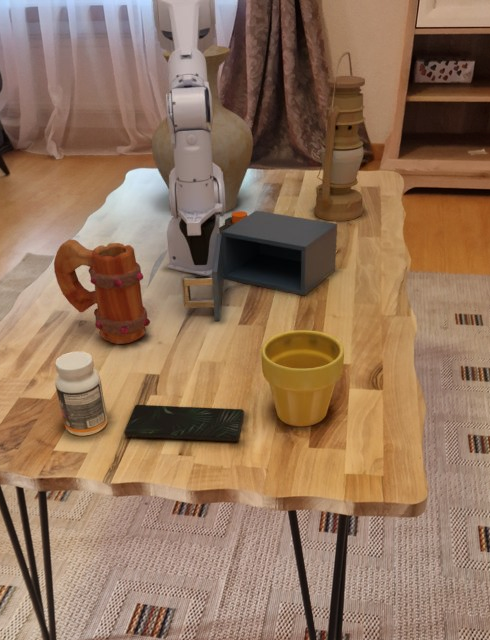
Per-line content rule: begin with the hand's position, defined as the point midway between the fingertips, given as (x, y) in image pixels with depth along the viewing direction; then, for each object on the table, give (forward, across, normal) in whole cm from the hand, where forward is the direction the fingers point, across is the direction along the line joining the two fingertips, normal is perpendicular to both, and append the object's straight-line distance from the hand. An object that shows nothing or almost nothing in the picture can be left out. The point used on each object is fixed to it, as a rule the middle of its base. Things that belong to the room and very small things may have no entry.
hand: (200, 263), depth 119 cm
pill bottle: (+8, -36, +14) cm, 39 cm away
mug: (+8, -10, +15) cm, 19 cm away
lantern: (+8, +45, -26) cm, 53 cm away
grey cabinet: (+8, +13, -13) cm, 20 cm away
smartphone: (+8, -36, 0) cm, 37 cm away
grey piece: (+7, +3, 0) cm, 8 cm away
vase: (+8, +53, +3) cm, 54 cm away
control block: (+8, +33, -5) cm, 35 cm away
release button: (+5, +33, -5) cm, 34 cm away
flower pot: (+8, -34, -15) cm, 38 cm away
